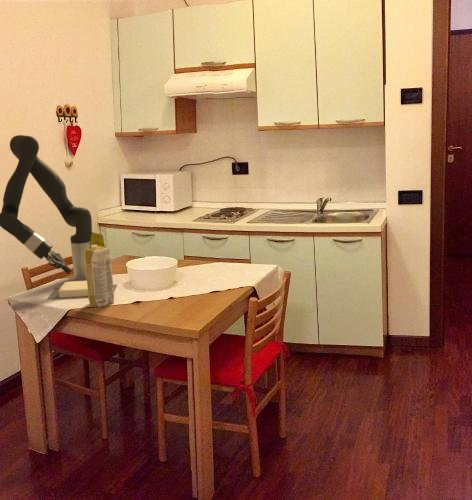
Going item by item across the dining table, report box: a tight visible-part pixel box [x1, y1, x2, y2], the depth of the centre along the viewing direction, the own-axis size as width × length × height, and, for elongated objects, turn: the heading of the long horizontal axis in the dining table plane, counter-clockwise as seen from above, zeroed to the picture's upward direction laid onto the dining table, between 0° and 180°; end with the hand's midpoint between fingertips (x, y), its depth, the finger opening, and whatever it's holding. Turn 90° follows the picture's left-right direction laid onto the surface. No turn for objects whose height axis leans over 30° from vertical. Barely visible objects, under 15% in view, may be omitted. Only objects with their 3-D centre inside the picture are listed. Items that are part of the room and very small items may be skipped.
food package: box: [91, 231, 106, 247], centre depth 306 cm, size 15×1×20 cm, turn 41°
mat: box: [45, 284, 118, 301], centre depth 276 cm, size 27×18×1 cm, turn 93°
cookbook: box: [59, 280, 88, 298], centre depth 276 cm, size 3×14×20 cm
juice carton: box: [84, 245, 115, 308], centre depth 256 cm, size 9×8×24 cm
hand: (70, 272), depth 273 cm, fingers closed
